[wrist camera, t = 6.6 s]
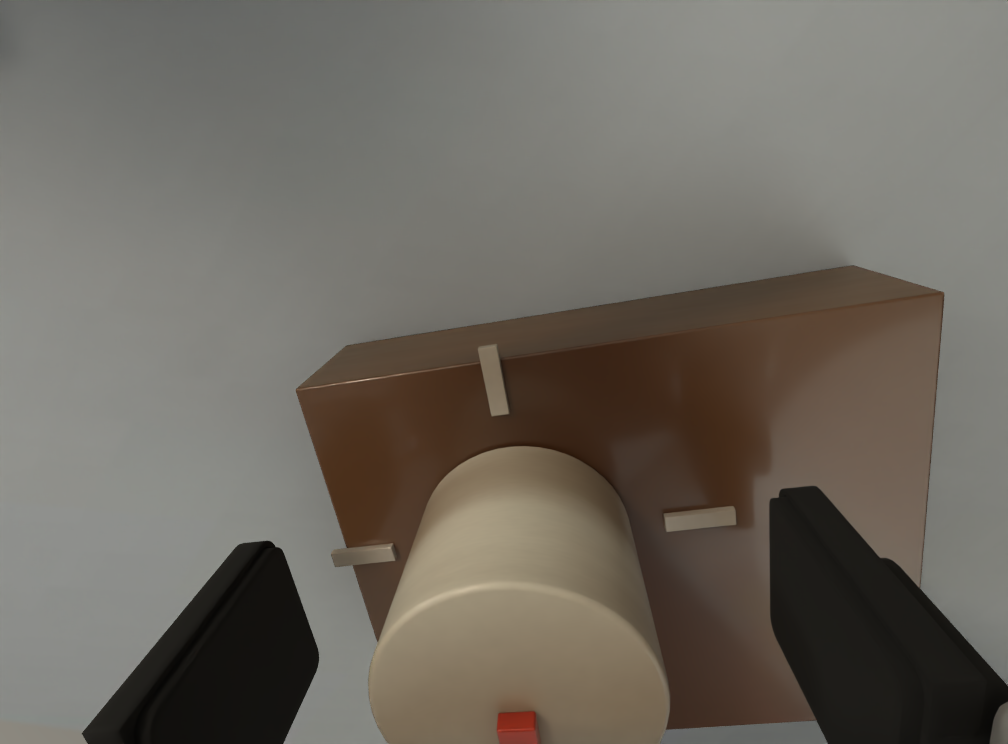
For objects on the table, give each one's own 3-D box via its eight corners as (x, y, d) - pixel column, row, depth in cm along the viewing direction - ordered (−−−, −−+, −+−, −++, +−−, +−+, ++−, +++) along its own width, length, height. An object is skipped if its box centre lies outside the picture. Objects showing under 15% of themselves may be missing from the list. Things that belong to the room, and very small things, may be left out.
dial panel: (854, 250, 12) (954, 275, 9) (844, 616, 16) (915, 722, 13) (331, 335, 14) (271, 380, 11) (423, 652, 17) (397, 753, 14)
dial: (404, 455, 11) (325, 614, 7) (622, 433, 11) (667, 589, 7) (443, 624, 13) (396, 835, 9) (637, 611, 12) (683, 829, 8)
